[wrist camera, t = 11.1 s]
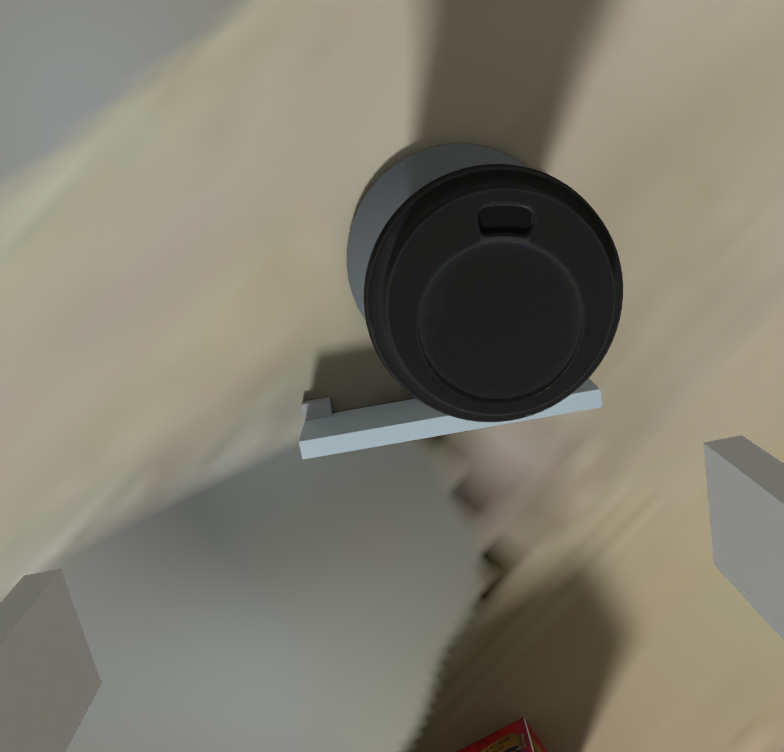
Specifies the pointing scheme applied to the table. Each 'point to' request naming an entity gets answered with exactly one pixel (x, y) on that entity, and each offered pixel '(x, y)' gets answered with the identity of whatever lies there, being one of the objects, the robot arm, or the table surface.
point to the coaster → (405, 198)
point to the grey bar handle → (404, 422)
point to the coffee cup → (493, 293)
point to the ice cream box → (509, 740)
